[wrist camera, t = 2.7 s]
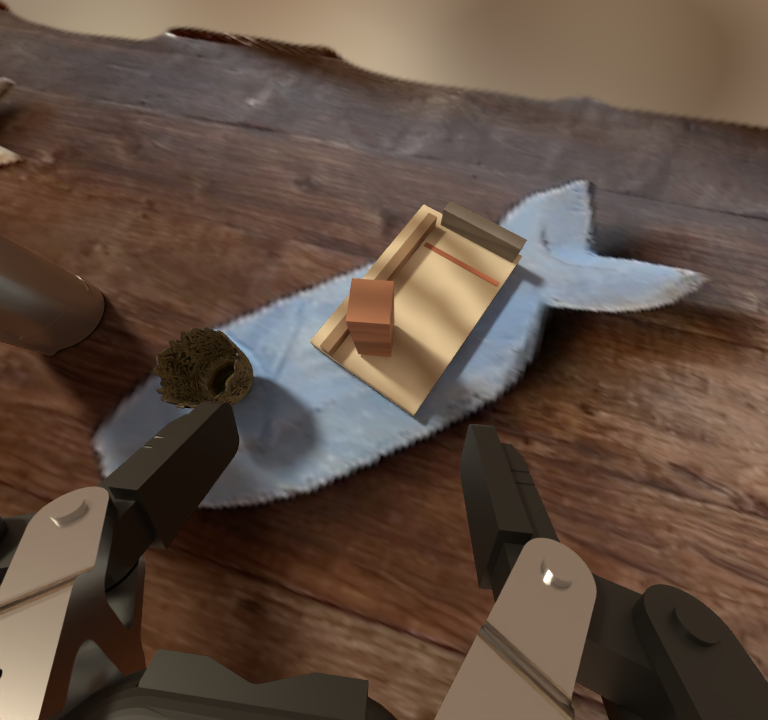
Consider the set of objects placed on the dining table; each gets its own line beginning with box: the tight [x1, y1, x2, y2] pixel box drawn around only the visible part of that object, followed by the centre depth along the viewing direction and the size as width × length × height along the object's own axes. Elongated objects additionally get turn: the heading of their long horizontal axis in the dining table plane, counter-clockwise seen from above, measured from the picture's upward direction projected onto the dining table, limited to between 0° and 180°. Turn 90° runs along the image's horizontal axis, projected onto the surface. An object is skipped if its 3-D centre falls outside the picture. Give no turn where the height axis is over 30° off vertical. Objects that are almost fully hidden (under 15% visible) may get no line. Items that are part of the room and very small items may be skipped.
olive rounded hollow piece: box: [153, 327, 253, 408], centre depth 30 cm, size 8×7×8 cm
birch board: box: [310, 201, 527, 416], centre depth 34 cm, size 23×14×4 cm, turn 144°
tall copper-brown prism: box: [346, 278, 395, 357], centre depth 29 cm, size 5×4×8 cm
